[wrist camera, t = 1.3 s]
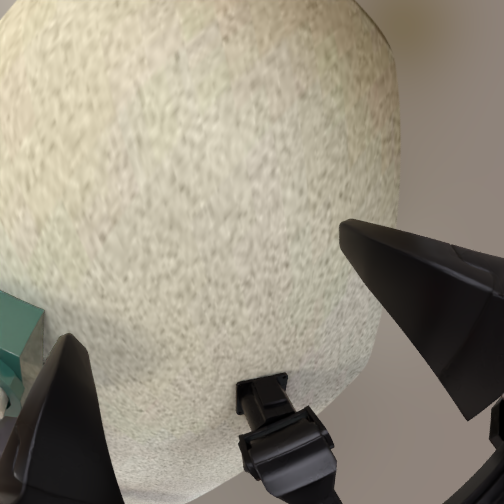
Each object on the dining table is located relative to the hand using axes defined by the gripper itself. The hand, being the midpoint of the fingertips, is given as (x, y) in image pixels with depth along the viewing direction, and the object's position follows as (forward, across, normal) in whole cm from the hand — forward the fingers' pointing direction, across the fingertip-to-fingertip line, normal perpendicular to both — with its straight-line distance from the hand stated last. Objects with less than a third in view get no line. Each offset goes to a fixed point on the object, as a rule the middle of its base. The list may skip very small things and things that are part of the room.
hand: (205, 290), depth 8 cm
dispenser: (+14, +24, +7) cm, 28 cm away
